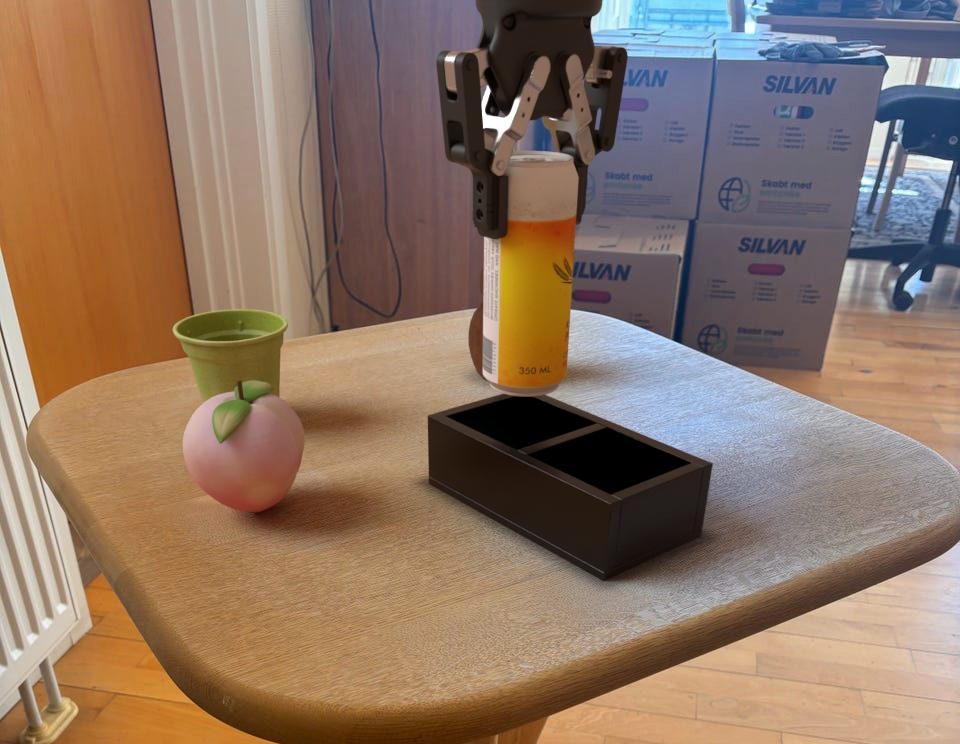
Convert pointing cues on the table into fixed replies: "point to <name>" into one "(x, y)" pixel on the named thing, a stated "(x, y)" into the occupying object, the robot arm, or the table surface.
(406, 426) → the table surface
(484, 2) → the robot arm
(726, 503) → the table surface
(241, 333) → the plant pot
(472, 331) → the wooden figurine
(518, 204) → the beer can
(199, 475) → the decorative fruit
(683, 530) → the divided box
